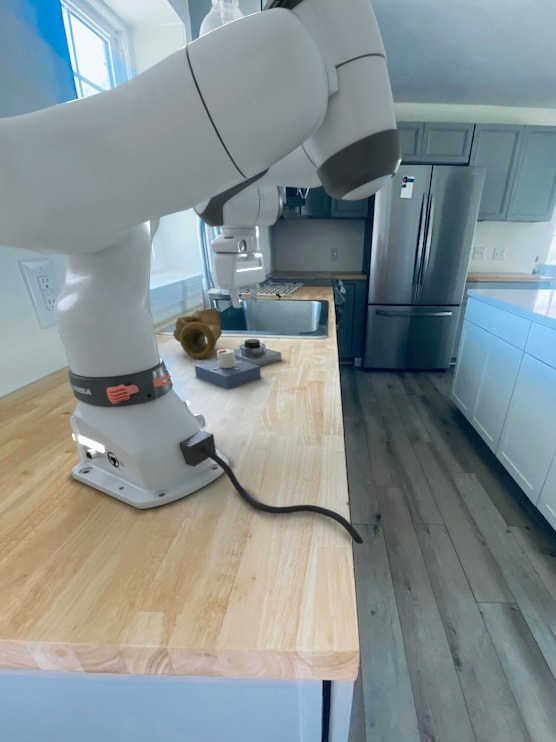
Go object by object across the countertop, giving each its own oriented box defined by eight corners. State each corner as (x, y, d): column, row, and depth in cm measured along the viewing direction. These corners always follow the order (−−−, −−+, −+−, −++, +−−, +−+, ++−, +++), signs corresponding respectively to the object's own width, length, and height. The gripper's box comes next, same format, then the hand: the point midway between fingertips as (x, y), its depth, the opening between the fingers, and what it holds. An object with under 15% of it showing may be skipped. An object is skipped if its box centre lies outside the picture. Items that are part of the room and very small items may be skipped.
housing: (281, 360, 102) (281, 346, 100) (254, 368, 95) (253, 353, 93) (253, 352, 109) (252, 338, 107) (225, 359, 102) (224, 345, 100)
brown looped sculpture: (246, 318, 117) (219, 319, 96) (236, 356, 121) (208, 365, 101) (193, 297, 117) (154, 293, 96) (184, 336, 121) (145, 340, 101)
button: (263, 346, 101) (262, 340, 100) (251, 349, 98) (251, 343, 97) (253, 344, 103) (252, 338, 102) (242, 347, 100) (241, 340, 99)
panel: (260, 378, 89) (260, 365, 87) (227, 389, 82) (225, 375, 80) (229, 368, 95) (228, 356, 94) (196, 377, 88) (194, 364, 87)
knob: (228, 362, 90) (227, 346, 88) (239, 365, 87) (237, 349, 86) (215, 365, 87) (213, 350, 85) (226, 369, 85) (224, 353, 83)
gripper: (247, 242, 96) (251, 298, 102) (206, 243, 78) (215, 310, 85) (269, 243, 94) (272, 299, 101) (233, 243, 77) (240, 311, 83)
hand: (246, 304), depth 93 cm, fingers open, 8 cm apart
